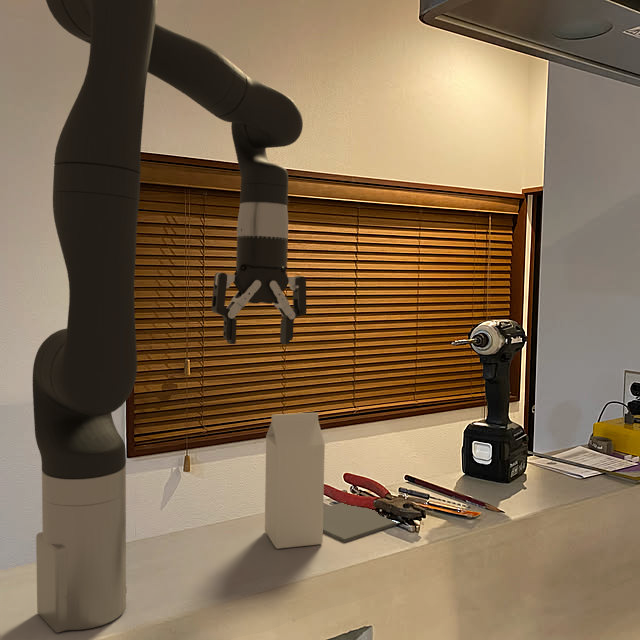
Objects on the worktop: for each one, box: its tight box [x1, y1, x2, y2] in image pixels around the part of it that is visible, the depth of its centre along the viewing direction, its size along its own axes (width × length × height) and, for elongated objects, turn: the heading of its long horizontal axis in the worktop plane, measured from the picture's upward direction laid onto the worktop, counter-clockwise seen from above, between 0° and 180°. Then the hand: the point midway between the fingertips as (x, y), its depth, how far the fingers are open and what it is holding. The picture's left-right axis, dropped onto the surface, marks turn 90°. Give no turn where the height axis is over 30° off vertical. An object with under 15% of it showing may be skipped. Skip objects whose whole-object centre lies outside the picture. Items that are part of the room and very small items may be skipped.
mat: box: [323, 502, 397, 543], centre depth 116 cm, size 18×12×1 cm, turn 131°
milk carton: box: [264, 412, 326, 549], centre depth 106 cm, size 7×7×19 cm
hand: (258, 343), depth 107 cm, fingers open, 8 cm apart
